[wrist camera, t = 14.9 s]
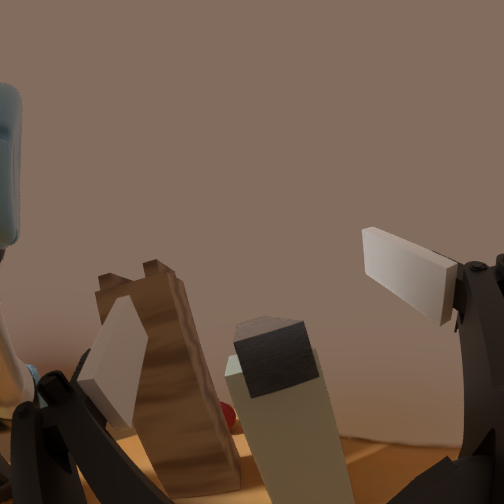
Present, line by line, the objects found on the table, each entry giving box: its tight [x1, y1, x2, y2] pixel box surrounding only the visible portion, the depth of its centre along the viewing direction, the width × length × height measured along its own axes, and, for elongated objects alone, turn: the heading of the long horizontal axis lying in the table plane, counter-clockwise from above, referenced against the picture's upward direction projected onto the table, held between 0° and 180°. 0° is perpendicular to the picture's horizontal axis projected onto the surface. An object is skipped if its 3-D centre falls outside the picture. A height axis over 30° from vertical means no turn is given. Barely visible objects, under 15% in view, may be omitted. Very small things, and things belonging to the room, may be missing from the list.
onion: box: [218, 399, 236, 430], centre depth 49 cm, size 6×6×8 cm
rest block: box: [224, 347, 355, 504], centre depth 22 cm, size 10×7×19 cm
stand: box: [95, 259, 241, 498], centre depth 34 cm, size 10×10×32 cm
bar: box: [233, 316, 320, 399], centre depth 23 cm, size 22×4×3 cm, turn 3°
